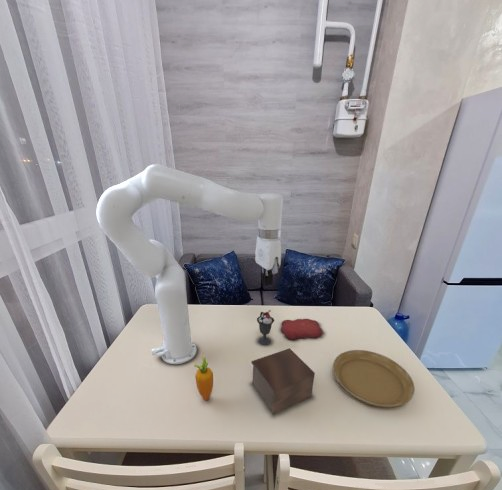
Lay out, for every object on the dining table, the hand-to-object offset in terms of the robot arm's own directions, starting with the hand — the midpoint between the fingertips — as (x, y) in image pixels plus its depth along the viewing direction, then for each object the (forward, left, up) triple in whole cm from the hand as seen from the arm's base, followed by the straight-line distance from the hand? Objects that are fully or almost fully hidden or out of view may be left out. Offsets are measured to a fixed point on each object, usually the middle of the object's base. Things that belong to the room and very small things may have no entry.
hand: (267, 284), depth 94 cm
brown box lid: (-8, -24, -16) cm, 30 cm away
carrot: (-30, -17, -25) cm, 43 cm away
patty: (+18, 0, -25) cm, 31 cm away
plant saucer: (+20, -34, -25) cm, 47 cm away
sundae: (0, 0, -25) cm, 25 cm away
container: (-8, -24, -25) cm, 35 cm away
